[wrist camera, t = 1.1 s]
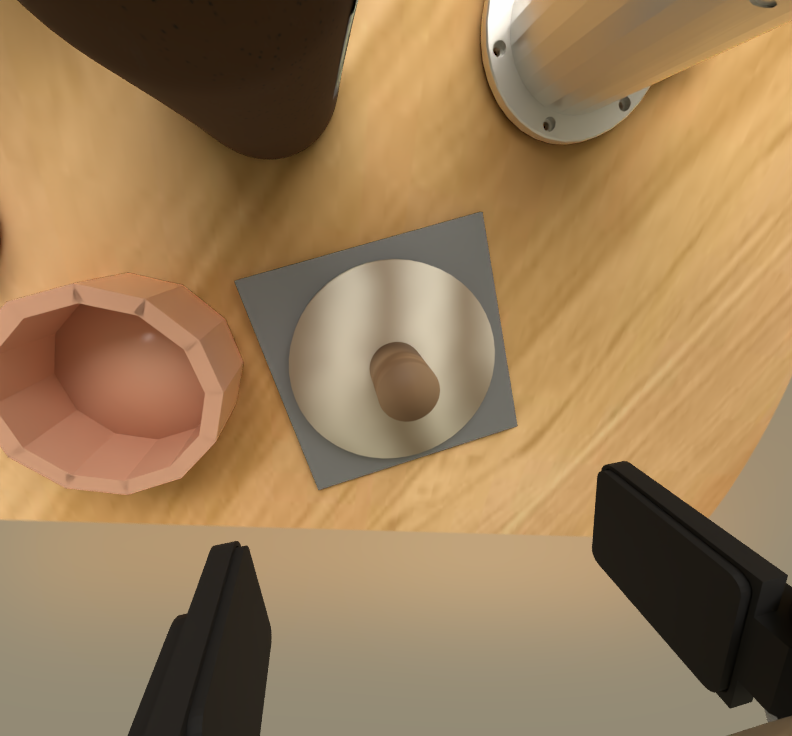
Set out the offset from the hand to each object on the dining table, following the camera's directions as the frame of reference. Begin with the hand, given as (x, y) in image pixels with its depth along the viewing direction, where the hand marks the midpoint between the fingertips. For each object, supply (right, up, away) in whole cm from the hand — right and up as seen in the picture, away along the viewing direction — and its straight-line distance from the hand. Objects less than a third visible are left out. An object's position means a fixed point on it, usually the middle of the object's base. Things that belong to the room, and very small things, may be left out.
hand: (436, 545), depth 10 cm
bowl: (-19, +5, +18) cm, 26 cm away
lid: (-1, +5, +20) cm, 21 cm away
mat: (-1, +5, +21) cm, 21 cm away
